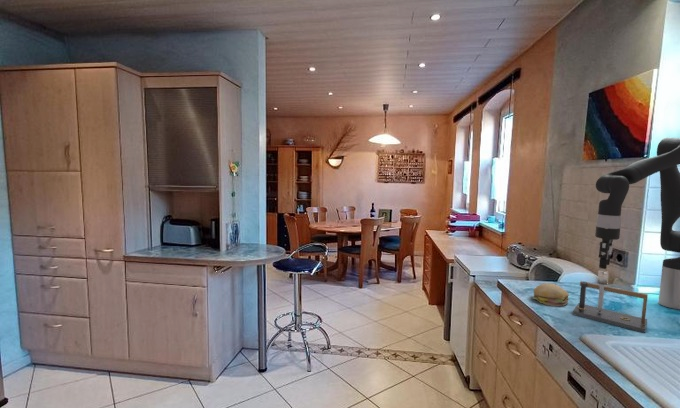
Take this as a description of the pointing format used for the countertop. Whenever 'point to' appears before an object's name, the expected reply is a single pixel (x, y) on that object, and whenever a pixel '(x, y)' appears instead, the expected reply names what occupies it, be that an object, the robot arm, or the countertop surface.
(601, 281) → the grey elongated rounded piece
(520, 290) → the countertop surface
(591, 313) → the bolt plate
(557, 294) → the burger
